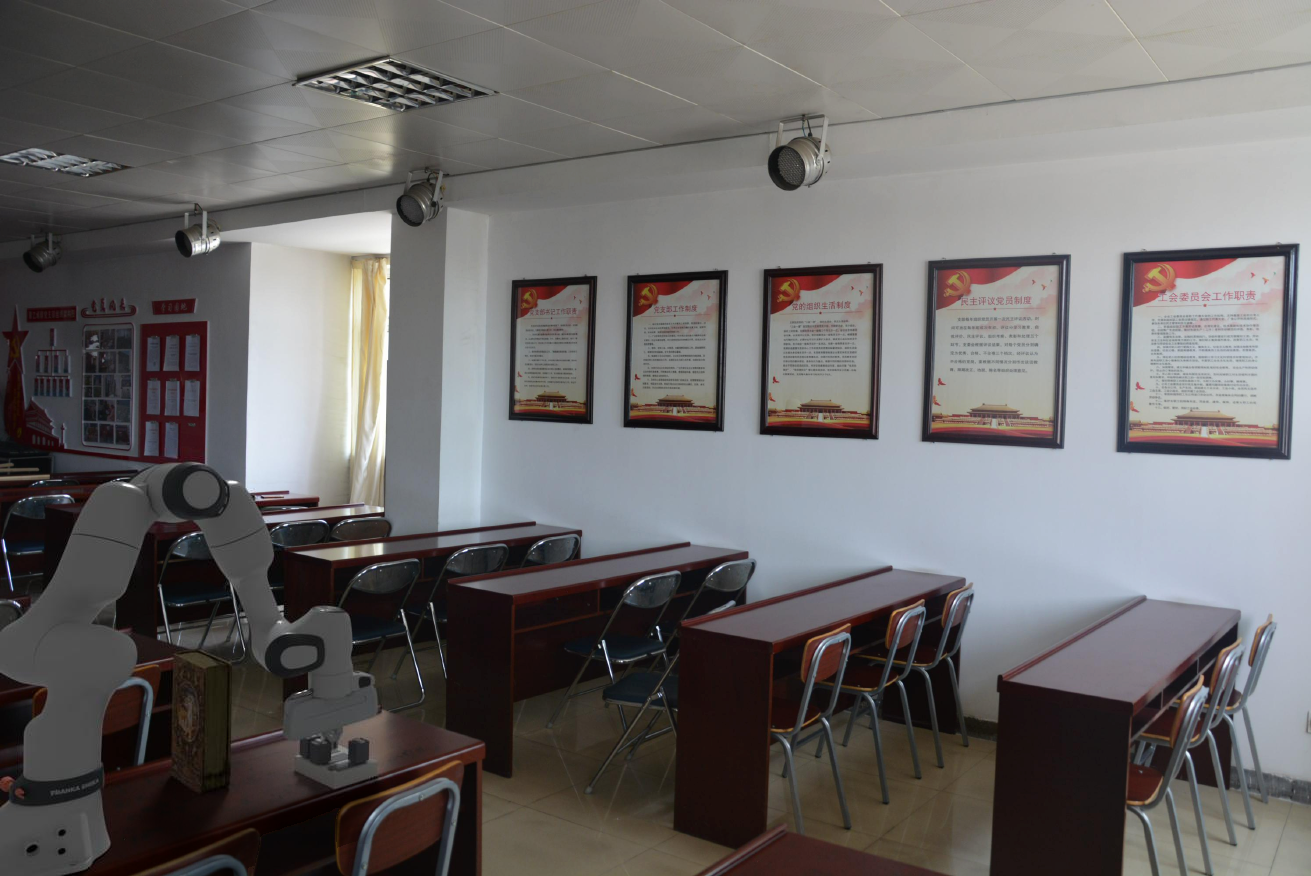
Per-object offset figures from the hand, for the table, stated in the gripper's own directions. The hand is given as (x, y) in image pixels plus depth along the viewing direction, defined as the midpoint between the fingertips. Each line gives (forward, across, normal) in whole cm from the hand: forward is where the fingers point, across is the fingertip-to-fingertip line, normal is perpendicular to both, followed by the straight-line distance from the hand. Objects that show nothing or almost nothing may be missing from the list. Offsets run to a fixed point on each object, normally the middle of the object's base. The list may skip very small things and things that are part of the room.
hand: (332, 749), depth 197 cm
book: (+4, -20, +16) cm, 26 cm away
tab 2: (+2, +3, -5) cm, 6 cm away
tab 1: (+2, -2, +5) cm, 6 cm away
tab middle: (+2, -3, 0) cm, 3 cm away
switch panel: (+5, +1, 0) cm, 5 cm away
